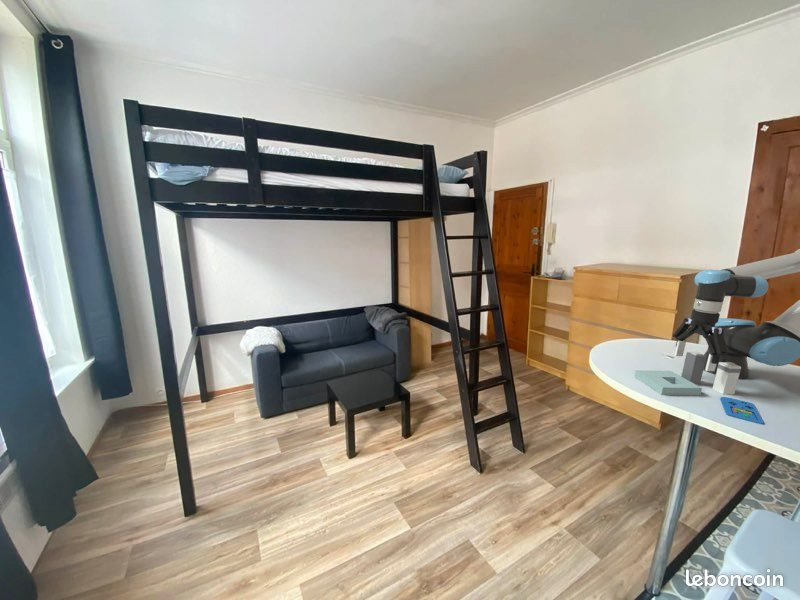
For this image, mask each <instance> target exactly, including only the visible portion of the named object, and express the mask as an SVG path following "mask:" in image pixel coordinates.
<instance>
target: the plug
mask: <svg viewBox="0 0 800 600" xmlns="http://www.w3.org/2000/svg"><path fill="white" fill-rule="evenodd" d="M706 357H707V356H704V354H703V353H701V352H699V351H689V352H688V351H687V352H686V354H685V359H684V363H683V364H684V365H683V368H682V372H681V377H683V378H685V379H686V380H688V381H690V382H692V383H694V384H696V385H698V386H700V385H701V381H702V379H703V378H702V377H703V372H704V371H705V370H704V365H705V361H706Z"/></svg>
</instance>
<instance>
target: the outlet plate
mask: <svg viewBox="0 0 800 600" xmlns="http://www.w3.org/2000/svg"><path fill="white" fill-rule="evenodd" d="M681 376H682V375H681ZM681 376H680V375H679V374H677V373H675V372H673V371H672V370H644V369H643V370H640V369H639V370H635V372H634V378H635V379H637V380H639V381H640V382H641V383H643V384H644V385H645V386H647V387H649V388H650V389H652V390H653V391H655V392H656V393H658V394H660V395H661V396H701V394H702V389H703V387H701V386H700V385H696V384H694V383H692V382H690V381H688V380H686V379H685V378H683V377H681Z"/></svg>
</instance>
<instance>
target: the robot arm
mask: <svg viewBox="0 0 800 600" xmlns="http://www.w3.org/2000/svg"><path fill="white" fill-rule="evenodd" d="M799 272H800V248H799V249H796V250H795V251H794V252H793V253H788V254H783V255H779V256H775V257H771V258H767V259H762V260H759V261H758V260H757V261H753V262H749V263H745V264H741V265H736V266H733V267H728V268H723V269H704V270H702V271H699V272H697V274H696V275H695V277H694V284H695V286H697V290H696V294H695V298H694V303H693V310H692V311H691V314H690V318H689V317H688V318H687V317H685V318H684V319H683V321H682V323H681V325H680V326H679V327H678V328H677V329H676V331H675V332H673V334H672V337H673V338H675V339H676V342H675V348H676V349H675V350H674V351H675V353H674V356H675V357H684V352H685V349H686V348H685V347H686V343H687V341H686V339H688V338H690V337H691V336H693V335H694V334H698V336H699V335H700V336H702V338H704V339H705V341H706V344H707V350H706V351H705V353H704V354H703V355H704V356H707V357H706V361H705V365H704V370H703V371H706V372H708V373H711V374H714V375H716V373H717V369H718V368H717V367H718V364H719V362H730V363H734V364H735V365H738V366H740V367H741V371H740V374H739V378H738V379H747V378H749V376H750V372H751V371H750V368H749V363H748V358H749V359H752V360H753V361H755V362H756V363H757V362H758V363H761V364H764V365H768V366H770V367H771V366H772V367H782V366H786V365H790V364H792V363H794V362H796V361H798V359H799V358H800V299H799V300H797V301H796V302H795V303H794V304H793V305H791V306H790V307H789V308H787V309H786V310H785V311H784V312H783V313H781V314H780V315H779V316H777V317H776V318H775V319H774V320H767V321H763V322H762V323H760V324H758V326H757V325H756V322H755V321H754V320H749V319H743V318H742V319H741V318H727V317H721V318H720V316H721V314H720V313H721V311H722V309H723V308H722V307H723V304H724V300H725V299H726V298H725V297H736V298H737V297H738V298H740V297H741V298H759V297H760V298H761V296H764V295H766V293H767V292H768V289H769V282H768V281H767V280H768V279H772V278H777V277H781V276H782V277H783V276H785V275H790V274H795V273H799Z"/></svg>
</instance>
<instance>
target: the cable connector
mask: <svg viewBox="0 0 800 600" xmlns="http://www.w3.org/2000/svg"><path fill="white" fill-rule="evenodd" d="M717 368H718V369H717V373H716V374H715V377H714V381H713V384H712V385H713V386H712V390H714V391H716V392H717V393H720V394H721V395H735V392H736V388H737V385H738V381H739V379H740V378H739V374H740V371H741V367H740V366H738V365H735V364H734V363H730V362H719V364H718V367H717Z"/></svg>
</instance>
